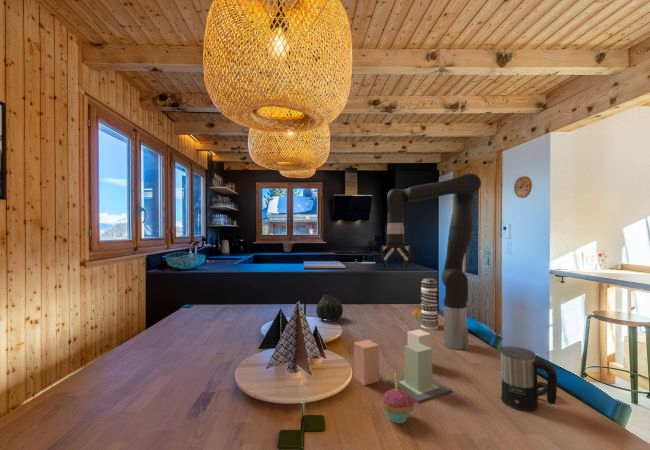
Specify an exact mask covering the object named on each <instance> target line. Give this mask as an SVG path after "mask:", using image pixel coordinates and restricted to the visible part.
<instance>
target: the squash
mask: <svg viewBox="0 0 650 450" xmlns="http://www.w3.org/2000/svg"><path fill="white" fill-rule="evenodd" d="M343 313H344V311H343V305H342V302H341V301H340V300H339V299H337V298H336V297H334V296H331V295H330V294H324V295H323V296H322V297H321V299H320V301H318V303H317V306H316V315H317V317H318V318H319V319H320V318H321V319H327V320H330V321H331V322H333V321H337V320H339V319H340V318H341V317H342V315H343ZM321 319H320V320H321Z"/></svg>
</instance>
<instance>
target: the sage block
mask: <svg viewBox="0 0 650 450" xmlns="http://www.w3.org/2000/svg"><path fill="white" fill-rule="evenodd" d="M404 376H405V383H406V384H408V385H409V386H411V387H412V388H414V389H416V390H417V391H420V390H423V389H426V388H430V387H432V379H433V348H432V347H431V348H429V347H427V346H425V345H422V344H420V343H415V344H410V345H408V344H407V345H404Z"/></svg>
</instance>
